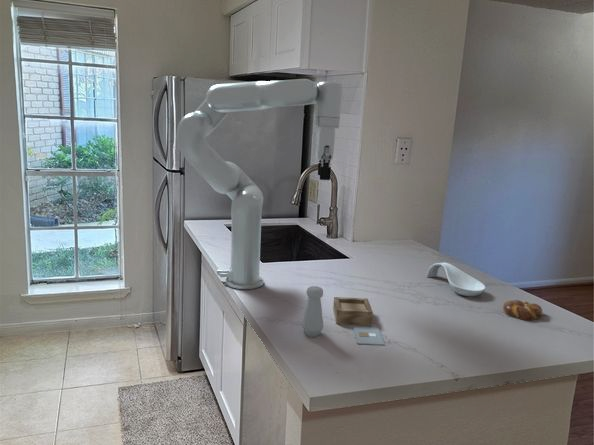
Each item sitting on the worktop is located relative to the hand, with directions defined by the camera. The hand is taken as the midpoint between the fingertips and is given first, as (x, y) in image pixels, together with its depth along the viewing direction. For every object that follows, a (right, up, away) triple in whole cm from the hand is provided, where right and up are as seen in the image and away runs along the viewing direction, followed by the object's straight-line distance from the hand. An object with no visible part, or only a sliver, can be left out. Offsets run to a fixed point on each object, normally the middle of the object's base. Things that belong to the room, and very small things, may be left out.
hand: (323, 177), depth 165 cm
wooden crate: (+7, -42, -15) cm, 45 cm away
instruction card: (+11, -45, -26) cm, 53 cm away
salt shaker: (-4, -44, -27) cm, 52 cm away
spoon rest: (+46, -37, +16) cm, 61 cm away
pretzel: (+61, -43, -4) cm, 75 cm away
